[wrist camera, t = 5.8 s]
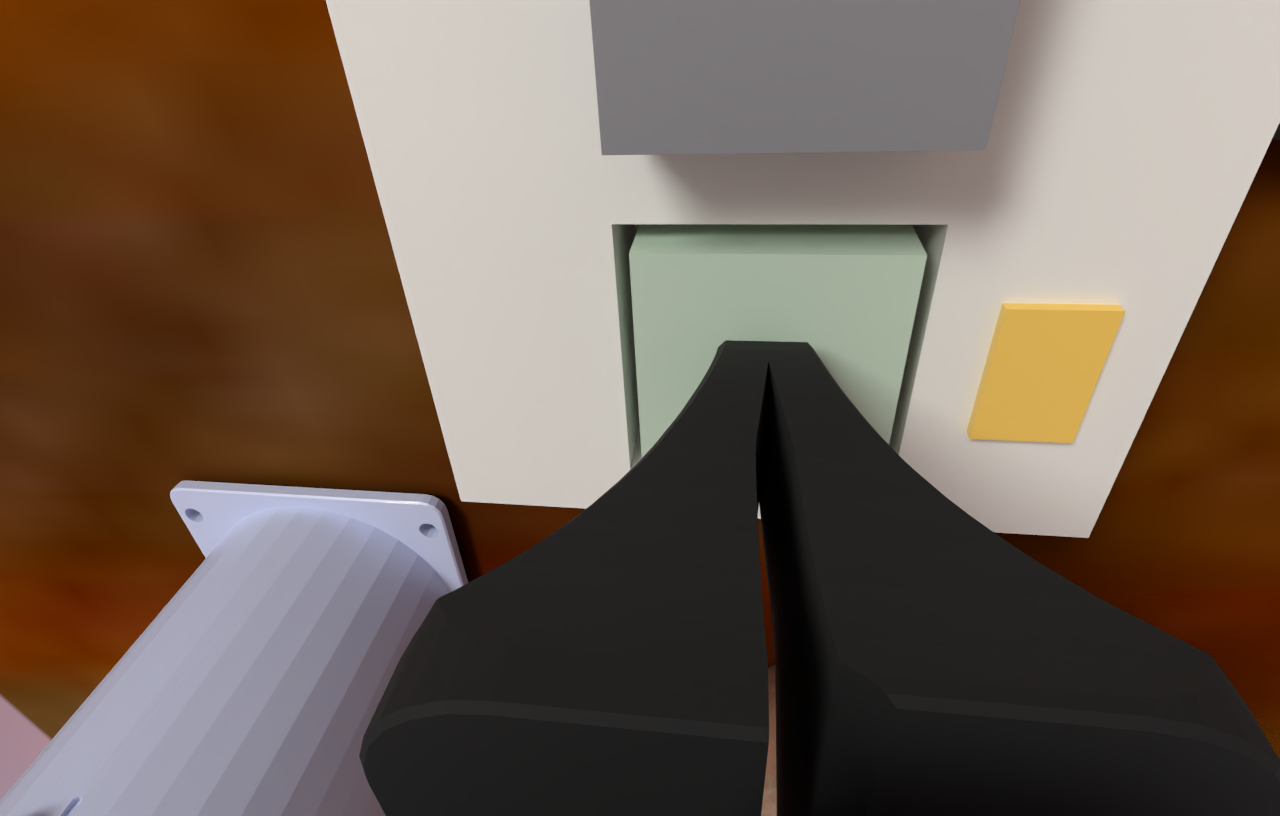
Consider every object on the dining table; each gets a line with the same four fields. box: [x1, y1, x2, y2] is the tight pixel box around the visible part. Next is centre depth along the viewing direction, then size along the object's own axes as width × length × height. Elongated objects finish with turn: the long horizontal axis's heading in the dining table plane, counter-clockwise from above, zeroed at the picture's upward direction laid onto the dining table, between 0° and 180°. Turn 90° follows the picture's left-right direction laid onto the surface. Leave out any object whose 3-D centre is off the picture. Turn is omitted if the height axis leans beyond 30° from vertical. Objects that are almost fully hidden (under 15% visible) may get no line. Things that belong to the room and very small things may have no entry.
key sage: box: [629, 224, 927, 457], centre depth 12 cm, size 4×4×2 cm
